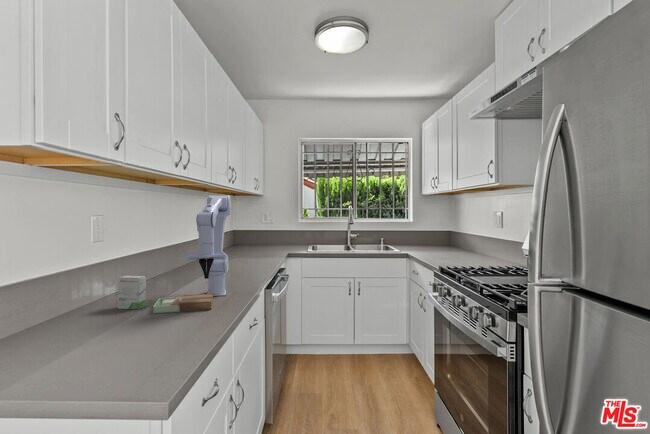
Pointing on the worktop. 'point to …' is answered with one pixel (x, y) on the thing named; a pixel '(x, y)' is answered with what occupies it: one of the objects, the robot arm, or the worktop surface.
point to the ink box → (131, 292)
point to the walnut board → (196, 302)
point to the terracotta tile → (176, 301)
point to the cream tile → (167, 302)
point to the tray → (165, 309)
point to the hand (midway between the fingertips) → (206, 278)
